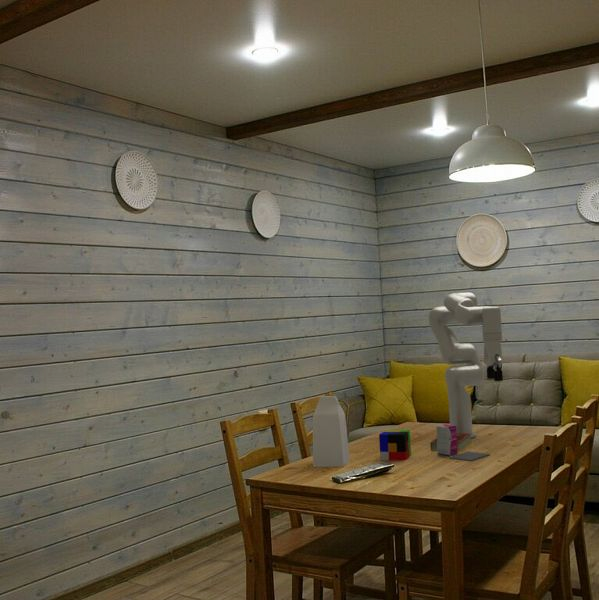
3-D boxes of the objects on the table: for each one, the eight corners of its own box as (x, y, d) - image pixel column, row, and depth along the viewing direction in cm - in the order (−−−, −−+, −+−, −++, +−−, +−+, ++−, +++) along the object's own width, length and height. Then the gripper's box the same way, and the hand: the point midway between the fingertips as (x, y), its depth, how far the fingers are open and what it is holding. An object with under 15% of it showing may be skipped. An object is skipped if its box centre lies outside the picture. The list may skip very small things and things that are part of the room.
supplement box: (449, 456, 287) (447, 427, 288) (437, 454, 292) (435, 425, 292) (458, 454, 291) (456, 424, 291) (446, 452, 296) (444, 423, 296)
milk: (313, 466, 283) (309, 398, 284) (320, 460, 294) (316, 395, 295) (343, 466, 280) (339, 397, 280) (349, 460, 291) (346, 394, 291)
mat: (449, 458, 283) (449, 457, 283) (467, 452, 293) (467, 451, 293) (471, 461, 276) (471, 459, 276) (490, 455, 285) (490, 453, 285)
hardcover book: (430, 451, 302) (430, 441, 302) (444, 442, 321) (443, 432, 321) (459, 452, 297) (459, 441, 297) (471, 442, 316) (471, 432, 316)
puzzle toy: (380, 460, 288) (379, 434, 288) (386, 455, 297) (385, 430, 298) (405, 460, 285) (404, 434, 285) (411, 455, 294) (409, 430, 294)
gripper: (477, 337, 306) (479, 378, 306) (489, 338, 289) (491, 382, 289) (495, 336, 307) (497, 377, 306) (508, 337, 289) (510, 381, 289)
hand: (494, 379), depth 298 cm, fingers open, 9 cm apart
